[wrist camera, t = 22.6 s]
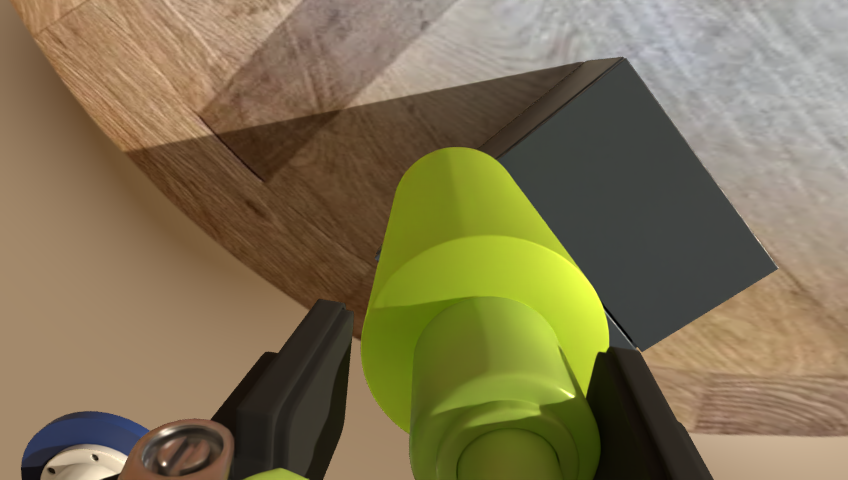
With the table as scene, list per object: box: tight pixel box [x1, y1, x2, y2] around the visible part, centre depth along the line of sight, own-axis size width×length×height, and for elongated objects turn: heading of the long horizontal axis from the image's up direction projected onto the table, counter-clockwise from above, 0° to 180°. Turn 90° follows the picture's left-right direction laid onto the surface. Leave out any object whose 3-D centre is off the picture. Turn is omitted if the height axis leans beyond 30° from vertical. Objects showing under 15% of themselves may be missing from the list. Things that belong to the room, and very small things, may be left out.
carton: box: [376, 57, 778, 352], centre depth 35 cm, size 17×14×11 cm
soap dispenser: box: [243, 147, 609, 480], centre depth 16 cm, size 6×7×20 cm
